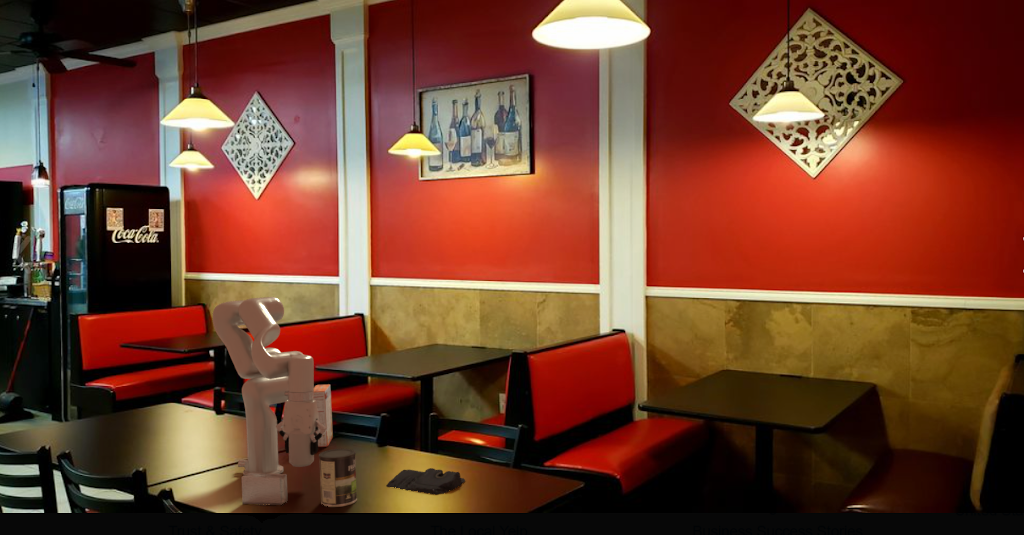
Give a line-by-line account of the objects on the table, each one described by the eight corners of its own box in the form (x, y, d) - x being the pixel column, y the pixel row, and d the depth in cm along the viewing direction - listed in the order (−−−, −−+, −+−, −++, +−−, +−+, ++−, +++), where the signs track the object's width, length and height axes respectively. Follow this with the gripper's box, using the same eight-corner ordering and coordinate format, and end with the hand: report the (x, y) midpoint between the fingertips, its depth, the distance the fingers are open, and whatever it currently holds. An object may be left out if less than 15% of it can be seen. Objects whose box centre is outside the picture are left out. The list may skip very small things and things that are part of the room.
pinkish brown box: (242, 504, 229) (241, 476, 229) (249, 499, 233) (248, 472, 233) (280, 506, 227) (279, 478, 226) (287, 501, 230) (286, 474, 230)
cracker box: (317, 438, 306) (315, 384, 305) (333, 437, 306) (331, 383, 306) (311, 448, 292) (309, 391, 291) (328, 447, 292) (326, 390, 292)
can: (307, 468, 240) (307, 429, 239) (284, 466, 241) (284, 427, 240) (318, 461, 247) (318, 423, 246) (295, 459, 249) (295, 421, 248)
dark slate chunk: (411, 474, 256) (410, 460, 256) (469, 483, 245) (469, 467, 245) (381, 488, 242) (381, 473, 242) (442, 497, 232) (442, 481, 232)
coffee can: (360, 495, 234) (358, 447, 234) (352, 507, 224) (351, 457, 224) (325, 496, 235) (323, 448, 234) (316, 507, 224) (314, 458, 224)
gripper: (268, 397, 241) (269, 454, 242) (322, 400, 237) (322, 458, 239) (280, 391, 248) (281, 447, 249) (332, 395, 245) (333, 451, 246)
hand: (301, 452), depth 244 cm, fingers closed on can, 7 cm apart
